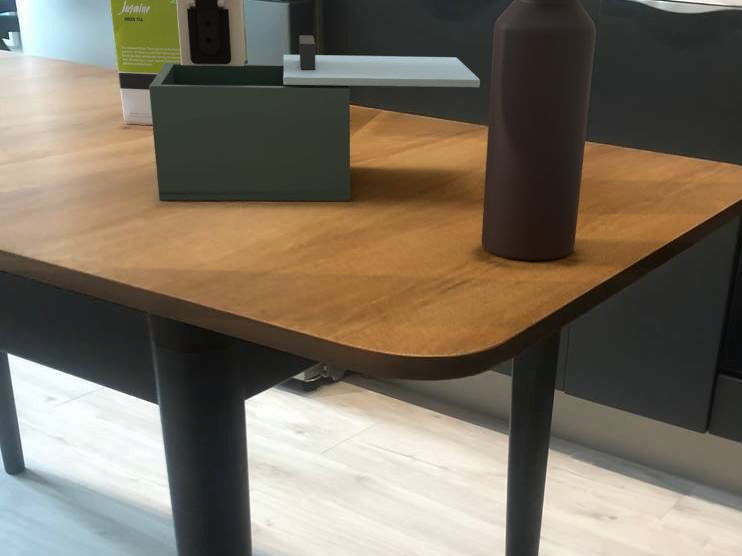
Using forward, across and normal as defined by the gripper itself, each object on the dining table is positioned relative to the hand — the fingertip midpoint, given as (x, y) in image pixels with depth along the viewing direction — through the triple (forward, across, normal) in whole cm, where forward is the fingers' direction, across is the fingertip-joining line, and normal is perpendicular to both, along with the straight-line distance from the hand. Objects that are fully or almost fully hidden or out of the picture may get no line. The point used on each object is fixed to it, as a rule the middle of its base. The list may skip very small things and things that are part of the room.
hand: (213, 56), depth 90 cm
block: (0, 0, 0) cm, 0 cm away
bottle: (+10, -21, -23) cm, 33 cm away
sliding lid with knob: (+1, 0, -14) cm, 14 cm away
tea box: (+10, +33, +5) cm, 35 cm away
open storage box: (+10, 0, -3) cm, 11 cm away
